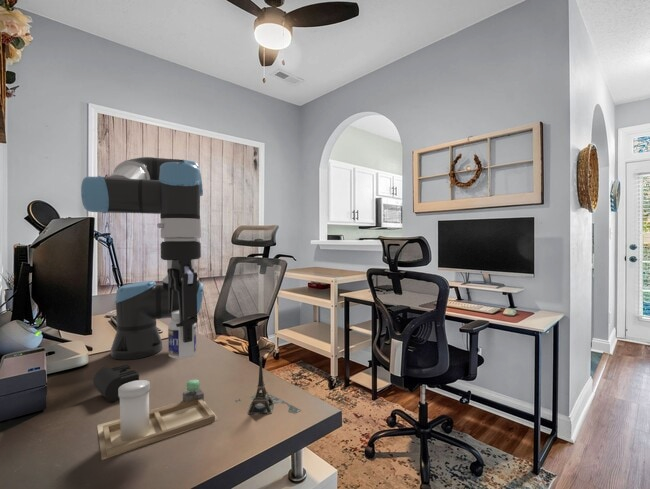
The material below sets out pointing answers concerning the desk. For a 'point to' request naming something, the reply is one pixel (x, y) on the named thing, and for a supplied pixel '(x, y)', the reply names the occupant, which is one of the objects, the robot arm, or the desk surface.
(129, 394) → the seated billet
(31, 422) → the desk surface
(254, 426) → the desk surface
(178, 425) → the wooden compartment tray
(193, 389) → the button
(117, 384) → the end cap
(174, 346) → the pill bottle
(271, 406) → the eiffel tower figurine
